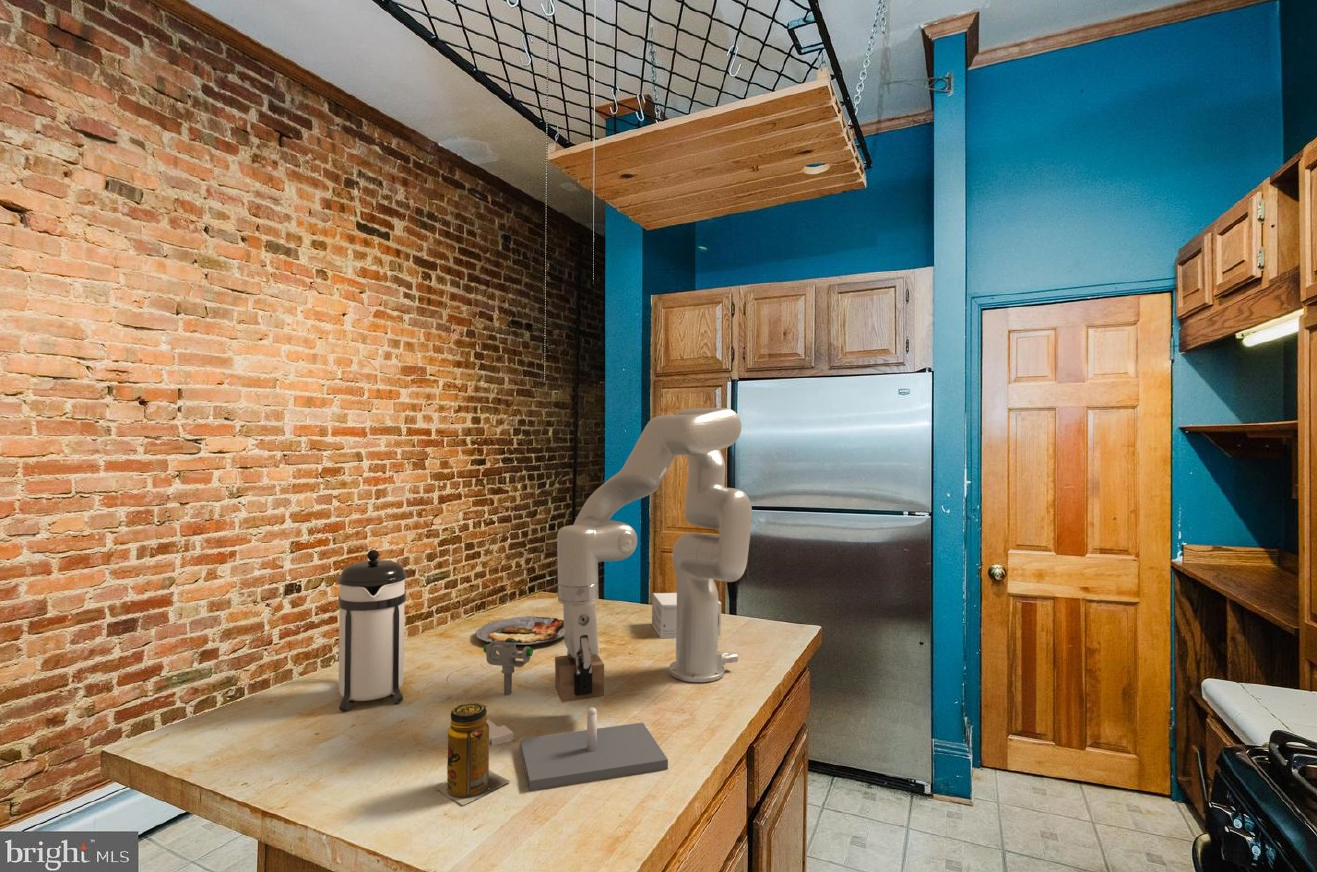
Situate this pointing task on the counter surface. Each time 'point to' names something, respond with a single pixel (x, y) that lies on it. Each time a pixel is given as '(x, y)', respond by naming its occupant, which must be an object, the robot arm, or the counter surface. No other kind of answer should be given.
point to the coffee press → (371, 630)
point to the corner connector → (498, 733)
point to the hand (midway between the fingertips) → (579, 685)
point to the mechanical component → (507, 660)
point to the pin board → (590, 754)
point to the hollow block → (566, 678)
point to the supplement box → (669, 614)
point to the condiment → (469, 755)
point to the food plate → (522, 630)
